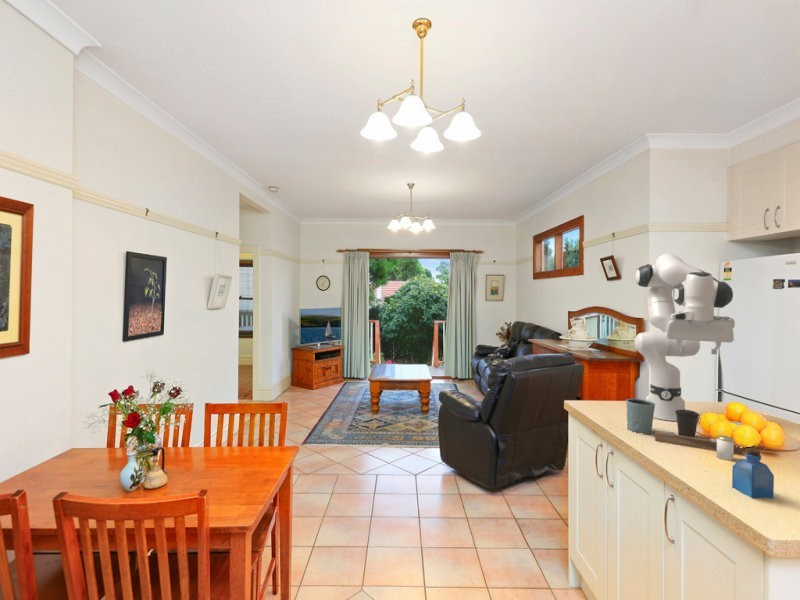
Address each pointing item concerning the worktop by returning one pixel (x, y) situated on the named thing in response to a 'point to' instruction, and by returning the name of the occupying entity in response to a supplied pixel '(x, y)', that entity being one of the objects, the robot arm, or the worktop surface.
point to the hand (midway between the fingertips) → (698, 353)
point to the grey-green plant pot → (640, 415)
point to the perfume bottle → (753, 476)
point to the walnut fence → (692, 441)
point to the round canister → (725, 448)
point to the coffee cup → (687, 422)
